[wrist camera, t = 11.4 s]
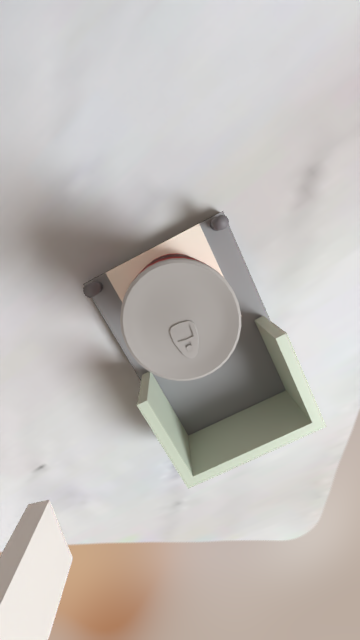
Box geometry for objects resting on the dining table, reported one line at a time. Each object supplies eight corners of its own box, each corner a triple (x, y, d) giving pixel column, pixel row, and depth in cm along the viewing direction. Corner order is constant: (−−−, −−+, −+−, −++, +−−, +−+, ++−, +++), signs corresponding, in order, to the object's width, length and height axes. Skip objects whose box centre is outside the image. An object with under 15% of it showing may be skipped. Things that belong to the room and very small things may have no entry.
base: (86, 282, 29) (75, 288, 26) (220, 212, 28) (228, 207, 25) (183, 446, 35) (185, 469, 31) (299, 392, 34) (314, 410, 30)
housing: (142, 374, 31) (136, 405, 25) (263, 315, 30) (286, 333, 24) (184, 445, 33) (188, 488, 27) (297, 393, 32) (326, 426, 26)
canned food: (168, 346, 30) (169, 403, 19) (119, 284, 28) (91, 308, 18) (230, 304, 29) (267, 338, 19) (184, 236, 27) (195, 231, 17)
